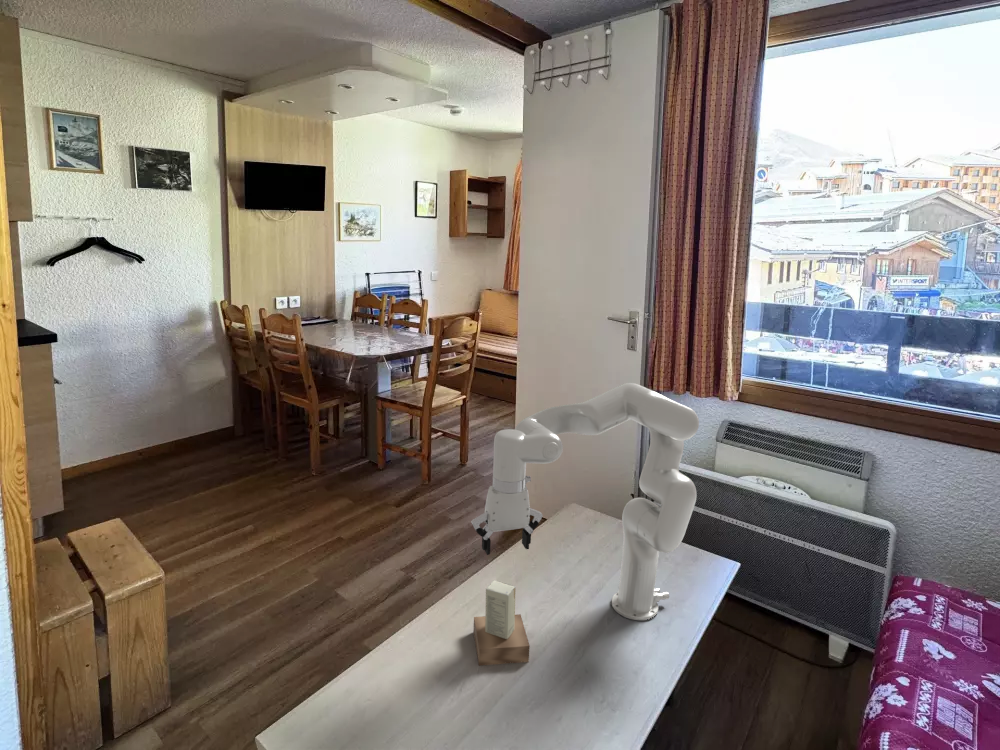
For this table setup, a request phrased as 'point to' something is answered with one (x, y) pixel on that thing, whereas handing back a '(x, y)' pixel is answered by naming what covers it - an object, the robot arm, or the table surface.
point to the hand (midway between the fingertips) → (506, 549)
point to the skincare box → (500, 609)
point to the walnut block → (501, 644)
